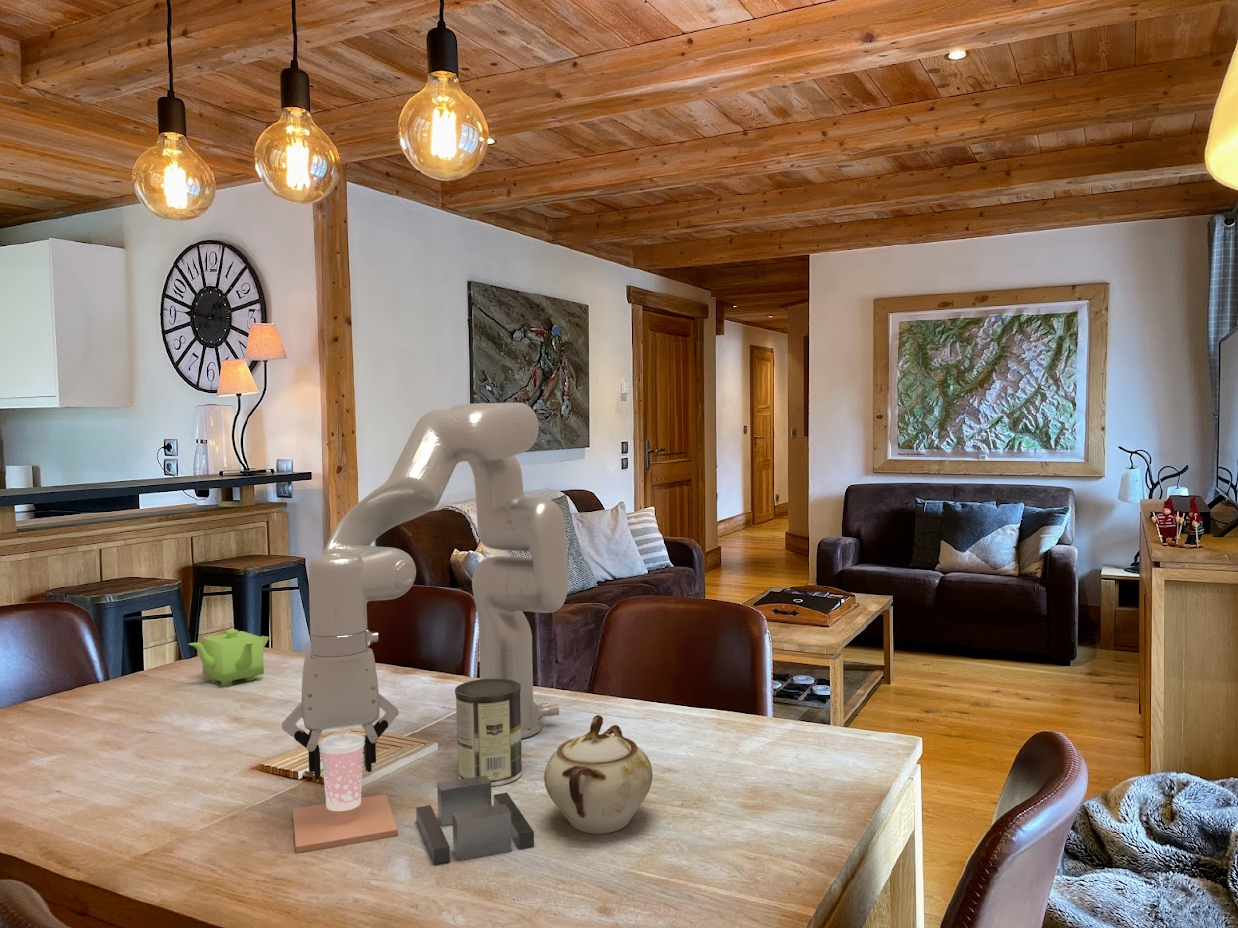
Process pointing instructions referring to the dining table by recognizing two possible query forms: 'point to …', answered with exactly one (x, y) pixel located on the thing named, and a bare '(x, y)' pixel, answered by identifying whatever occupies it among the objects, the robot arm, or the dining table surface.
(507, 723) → the coffee can
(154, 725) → the dining table surface
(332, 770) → the beverage cup
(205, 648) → the kettle
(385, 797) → the terracotta tile
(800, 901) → the dining table surface
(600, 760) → the sugar bowl
